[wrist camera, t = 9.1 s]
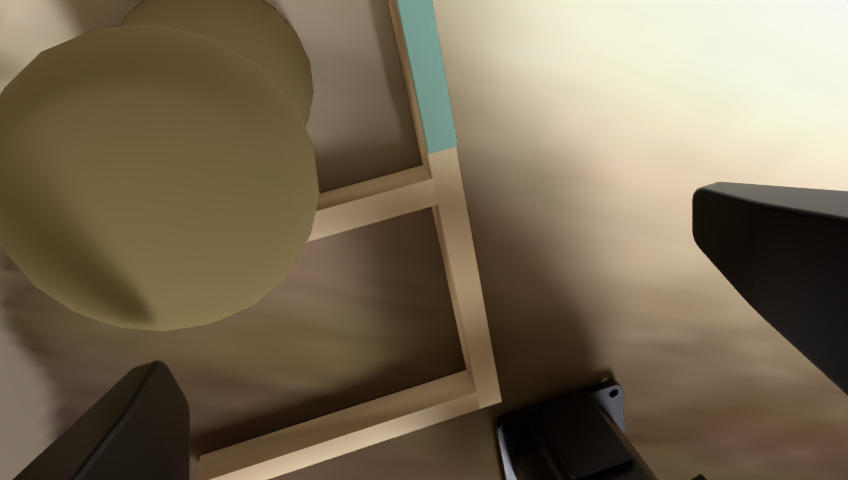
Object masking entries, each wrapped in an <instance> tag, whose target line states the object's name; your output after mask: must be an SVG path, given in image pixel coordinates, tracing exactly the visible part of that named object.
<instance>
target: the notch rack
mask: <svg viewBox="0 0 848 480" xmlns="http://www.w3.org/2000/svg"><path fill="white" fill-rule="evenodd" d="M388 4H389V9H390V13H391V18H392V23H393V27H394V32H395V37H396V42H397V46H398V51H399V56H400V60H401V65H402V70H403V74H404V79H405V84H406V89H407V93H408V98H409V103H410V107H411V112H412V117H413V121H414V126H415V131H416V135H417V140H418V145H419V150H420V154H421V159H422V164H423V165H421V166H418V167H414V168H411V169H407V170H403V171H400V172H396V173H392V174H389V175H385V176H382V177H378V178H374V179H371V180H367V181H363V182H360V183H356V184H353V185H349V186H345V187H342V188H338V189H334V190H331V191H327V192H324V193H320V194H319V199H318V203H317V208H316V213H315V217H314V222H313V227H312V231H311V235H310V237H309V239H308V241H307V242H309V241H312V240H316V239H319V238H323V237H326V236H330V235H333V234H337V233H340V232H344V231H347V230H351V229H354V228H358V227H361V226H365V225H368V224H372V223H375V222H379V221H382V220H386V219H389V218H393V217H396V216H400V215H403V214H407V213H410V212H414V211H417V210H421V209H424V208H428V207H431V206H432V211H433V215H434V220H435V225H436V229H437V234H438V239H439V244H440V248H441V253H442V258H443V262H444V267H445V272H446V276H447V281H448V286H449V291H450V295H451V300H452V305H453V309H454V314H455V319H456V323H457V328H458V333H459V338H460V342H461V347H462V352H463V356H464V361H465V366H466V370H465V371H462V372H459V373H456V374H452V375H449V376H446V377H443V378H440V379H437V380H434V381H431V382H428V383H424V384H421V385H418V386H415V387H412V388H409V389H406V390H403V391H400V392H397V393H393V394H390V395H387V396H384V397H381V398H378V399H375V400H372V401H369V402H365V403H362V404H359V405H356V406H353V407H350V408H347V409H344V410H341V411H338V412H334V413H331V414H328V415H325V416H322V417H319V418H316V419H313V420H310V421H306V422H303V423H300V424H297V425H294V426H291V427H288V428H285V429H282V430H279V431H275V432H272V433H269V434H266V435H263V436H260V437H257V438H254V439H251V440H247V441H244V442H241V443H238V444H235V445H232V446H229V447H226V448H223V449H220V450H216V451H213V452H210V453H207V454H204V455H201V456H200V461H199V467H198V474H197V480H267V479H270V478H273V477H276V476H279V475H282V474H285V473H288V472H291V471H294V470H297V469H300V468H303V467H306V466H309V465H312V464H315V463H319V462H322V461H325V460H328V459H331V458H334V457H337V456H340V455H343V454H346V453H349V452H352V451H355V450H358V449H361V448H364V447H367V446H370V445H373V444H376V443H379V442H382V441H385V440H388V439H391V438H394V437H397V436H400V435H403V434H406V433H409V432H412V431H415V430H418V429H421V428H424V427H427V426H430V425H433V424H436V423H439V422H442V421H445V420H448V419H451V418H454V417H457V416H460V415H463V414H466V413H469V412H472V411H475V410H479V409H482V408H485V407H488V406H491V405H494V404H497V403H500V402H502V400H501V395H500V389H499V384H498V378H497V373H496V367H495V361H494V356H493V350H492V345H491V339H490V334H489V328H488V322H487V317H486V311H485V306H484V300H483V295H482V289H481V284H480V278H479V272H478V267H477V261H476V256H475V250H474V245H473V239H472V233H471V228H470V222H469V217H468V211H467V206H466V200H465V195H464V189H463V183H462V178H461V172H460V167H459V161H458V156H457V150H456V147H457V146H458V144H457V139H456V133H455V127H454V122H453V116H452V110H451V105H450V99H449V94H448V88H447V82H446V77H445V71H444V66H443V60H442V54H441V49H440V43H439V37H438V32H437V26H436V21H435V15H434V9H433V4H432V0H388Z"/></svg>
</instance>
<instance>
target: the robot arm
mask: <svg viewBox="0 0 848 480" xmlns="http://www.w3.org/2000/svg"><path fill="white" fill-rule="evenodd" d="M692 232H693V237H694V240H695V242H696V244H697V245H698V247H699V248H700V249H701V250H702V251H703V253H704V254H705V255H706V256H707V257H708V258H709V259H710V261H711V262H712V263H713V264H714V265H715V266H716V267H717V268H718V270H719V271H720V272H721V273H722V274H723V275H724V276H725V278H726V279H727V280H728V281H729V282H730V283H731V284H732V285H733V287H734V288H735V289H736V290H737V291H738V292H739V293H740V295H741V296H742V297H743V298H744V299H745V300H746V301H747V302H748V303H749V304H750V305H751V306H752V307H753V309H755V310H756V311H757V312H758V313H759V314H760V315H761V316H762V317H763V318H764V319H765V320H766V321H767V322H768V323H769V324H770V325H771V326H773V327H774V328H775V329H776V330H777V331H778V332H779V333H780V334H781V335H782V336H783V337H785V338H786V339H787V340H788V341H789V342H790V343H791V344H792V345H793V346H794V347H795V348H797V349H798V350H799V351H800V352H801V353H802V354H803V355H804V356H805V357H806V358H807V359H808V360H810V361H811V362H812V363H813V364H814V365H815V366H816V367H817V368H818V369H819V370H820V371H822V372H823V373H824V374H825V375H826V376H827V377H828V378H829V379H830V380H831V381H832V382H834V383H835V384H836V385H837V386H838V387H839V388H840V389H841V390H842V391H843V392H844V393H845V394H847V395H848V191H836V190H823V189H809V188H796V187H783V186H769V185H756V184H743V183H729V182H716V183H713V184H710V185H706V186H703V187H700V188H698V189H697V190H696V191H695V192H694V194H693V199H692ZM507 425H508V426H507ZM505 426H506V427H505ZM495 430H496V435H497V440H498V445H499V450H500V456H501V461H502V466H503V471H504V476H505V480H658V479H657V478H656V476H655V475H654V474H653V472H652V471H651V470H650V468H649V467H648V466H647V464H646V463H645V461H644V460H643V459H642V457H641V456H640V455H639V453H638V452H637V451H636V449H635V448H634V447H633V445H632V444H631V443H630V441H629V440H628V438H627V437H626V436H625V426H624V401H623V388H622V387H621V385H620V384H619V383H618V382H617V381H616V380H609V381H606V382H603V383H600V384H597V385H594V386H591V387H588V388H585V389H582V390H579V391H576V392H573V393H570V394H567V395H564V396H561V397H558V398H555V399H552V400H549V401H546V402H543V403H540V404H537V405H534V406H531V407H528V408H525V409H522V410H519V411H516V412H513V413H510V414H507V415H504V416H502V417H500V418H499V419H498V420H497V421H496V423H495ZM13 480H190V413H189V406H188V402H187V400H186V398H185V396H184V394H183V392H182V390H181V389H180V387H179V385H178V383H177V382H176V380H175V378H174V376H173V375H172V373H171V371H170V369H169V368H168V366H167V365H166V364H165V363H164V362H163V361H160V360H156V361H153V362H149V363H146V364H143V365H140V366H137V367H135V368H133V369H132V370H130V371H129V372H128V373H127V374H126V375H125V376H124V377H123V378H122V379H121V380H120V381H118V382H117V383H116V384H115V385H114V386H113V387H112V388H111V389H110V390H109V391H108V392H107V393H106V394H104V395H103V396H102V397H101V398H100V399H99V400H98V401H97V402H96V403H95V404H94V405H93V406H91V407H90V408H89V409H88V410H87V411H86V412H85V413H84V414H83V415H82V416H81V417H80V418H79V419H77V420H76V421H75V422H74V423H73V424H72V425H71V426H70V427H69V428H68V429H67V430H66V431H64V432H63V433H62V434H61V435H60V436H59V437H58V438H57V439H56V440H55V441H54V442H53V443H52V444H50V445H49V446H48V447H47V448H46V449H45V450H44V451H43V452H42V453H41V454H40V455H39V456H38V457H36V458H35V459H34V460H33V461H32V462H31V463H30V464H29V465H28V466H27V467H26V468H24V469H23V470H22V471H21V472H20V473H19V474H18V475H17V476H16V477H15V478H14V479H13ZM691 480H706V479H705V477H704V476H703V475H702V474H700V475H698V476H696V477H694V478H693V479H691Z"/></svg>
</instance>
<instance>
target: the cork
mask: <svg viewBox="0 0 848 480" xmlns="http://www.w3.org/2000/svg"><path fill="white" fill-rule="evenodd" d="M312 97H313V84H312V76H311V68H310V62H309V59H308V57H307V55H306V53H305V51H304V48H303V46H302V44H301V42H300V39H299V37H298V35H297V33H296V32H295V31H294V30H293V29H292V27H291V26H290V25H289V24H288V23H287V22H286V20H285V19H284V18H283V17H282V16H281V15H280V14H279V12H278V11H277V10H276V9H275V8H274V7H272V6H270V5H269V4H267V3H266V2H264V1H263V0H143V1H142V2H141V3H140V4H139V5H138V6H137V7H136V8H135V9H134V10H133V11H132V12H131V13H130V14H129V15H127V16H126V18H125V19H124V21H123V22H122V24H121V26H118V27H103V28H100V29H96V30H93V31H91V32H88V33H86V34H83V35H81V36H79V37H76V38H74V39H71V40H69V41H67V42H64V43H62V44H59V45H57V46H54V47H52V48H50V49H47V50H45V51H42V52H41V53H40V54H39V55H38V56H37V57H36V58H35V59H34V60H33V61H31V62H30V63H29V64H28V65H27V66H26V67H25V68H24V69H23V70H22V71H21V72H20V73H19V74H18V75H17V76H16V77H15V78H14V79H13V80H12V81H11V82H10V83H9V84H8V85H7V86H6V87H5V88H4V89H3V91H2V93H1V95H0V245H1V247H2V248H3V250H4V251H5V252H6V253H7V255H8V256H9V257H10V258H11V259H12V260H13V261H14V263H15V264H16V265H17V266H18V267H19V268H20V269H21V271H22V272H23V273H24V274H25V275H26V276H27V278H28V279H29V280H30V281H31V282H32V283H33V284H34V286H35V287H37V288H38V289H40V290H41V291H43V292H44V293H46V294H48V295H49V296H51V297H52V298H54V299H55V300H57V301H58V302H60V303H61V304H63V305H64V306H66V307H67V308H69V309H71V310H72V311H74V312H75V313H78V314H81V315H84V316H87V317H90V318H93V319H96V320H99V321H102V322H105V323H108V324H111V325H114V326H116V327H121V328H132V329H144V330H155V331H168V330H175V329H181V328H188V327H194V326H201V325H206V324H210V323H214V322H216V321H218V320H221V319H223V318H225V317H227V316H230V315H232V314H234V313H237V312H239V311H241V310H243V309H246V308H248V307H250V306H252V305H254V304H255V303H256V302H258V301H259V300H260V299H261V298H262V297H263V296H265V295H266V294H267V293H268V292H269V291H271V290H272V289H273V288H274V287H275V286H276V285H278V284H279V283H280V282H281V281H282V280H284V279H285V277H286V276H287V274H288V272H289V271H290V269H291V267H292V266H293V264H294V262H295V261H296V259H297V258H298V256H299V254H300V253H301V251H302V249H303V248H304V246H305V244H306V242H307V241H308V239H309V237H310V235H311V231H312V227H313V222H314V217H315V213H316V208H317V203H318V199H319V194H320V193H319V185H318V177H317V170H316V162H315V154H314V148H313V144H312V141H311V139H310V137H309V135H308V133H307V131H306V128H305V126H306V123H307V121H308V117H309V112H310V107H311V102H312Z"/></svg>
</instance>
